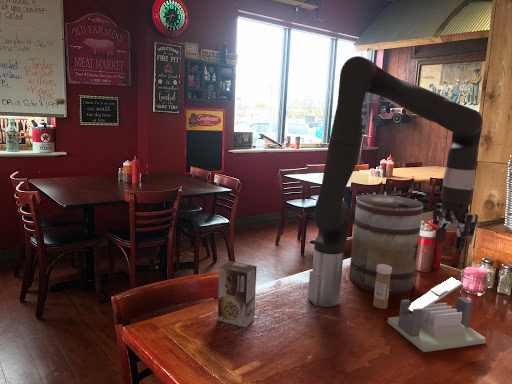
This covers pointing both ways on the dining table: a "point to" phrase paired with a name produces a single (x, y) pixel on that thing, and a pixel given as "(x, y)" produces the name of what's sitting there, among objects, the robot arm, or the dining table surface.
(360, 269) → the barrel
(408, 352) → the dining table surface
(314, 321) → the dining table surface
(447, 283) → the clamp bar
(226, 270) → the coffee box
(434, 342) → the board
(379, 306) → the sprinkles bottle
